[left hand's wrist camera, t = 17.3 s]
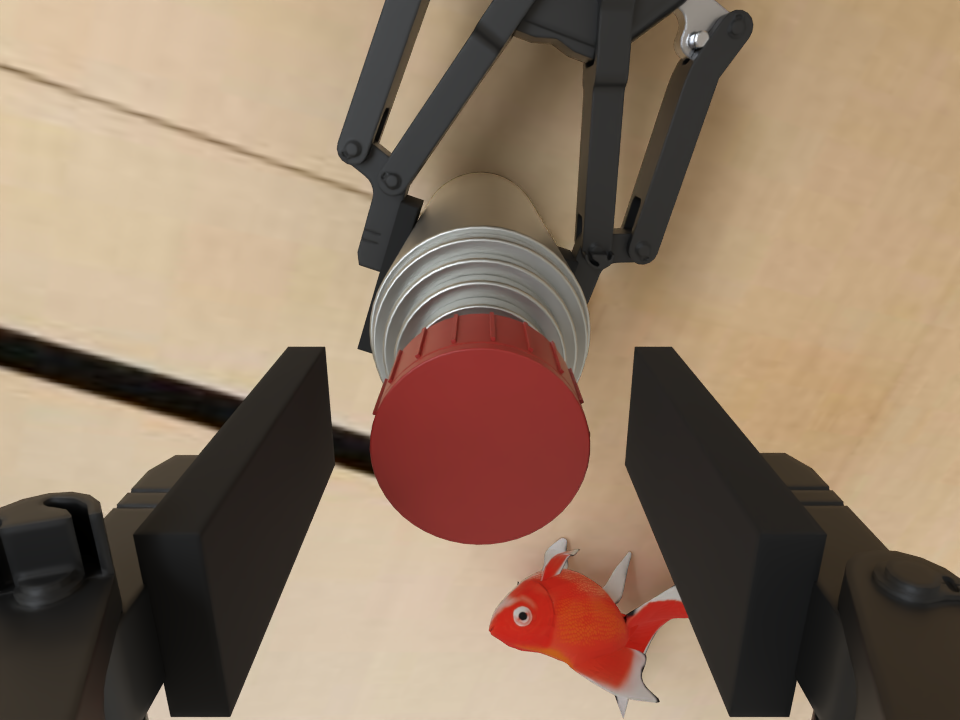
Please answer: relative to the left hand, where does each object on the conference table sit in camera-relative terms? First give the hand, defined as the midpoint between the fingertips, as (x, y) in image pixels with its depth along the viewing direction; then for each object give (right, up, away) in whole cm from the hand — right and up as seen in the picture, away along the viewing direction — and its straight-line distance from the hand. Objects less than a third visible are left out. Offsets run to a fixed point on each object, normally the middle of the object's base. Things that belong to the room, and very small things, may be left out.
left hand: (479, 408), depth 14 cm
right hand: (-2, +1, +16) cm, 16 cm away
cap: (0, -1, -2) cm, 2 cm away
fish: (+8, -12, +28) cm, 32 cm away
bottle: (0, +8, +21) cm, 22 cm away
